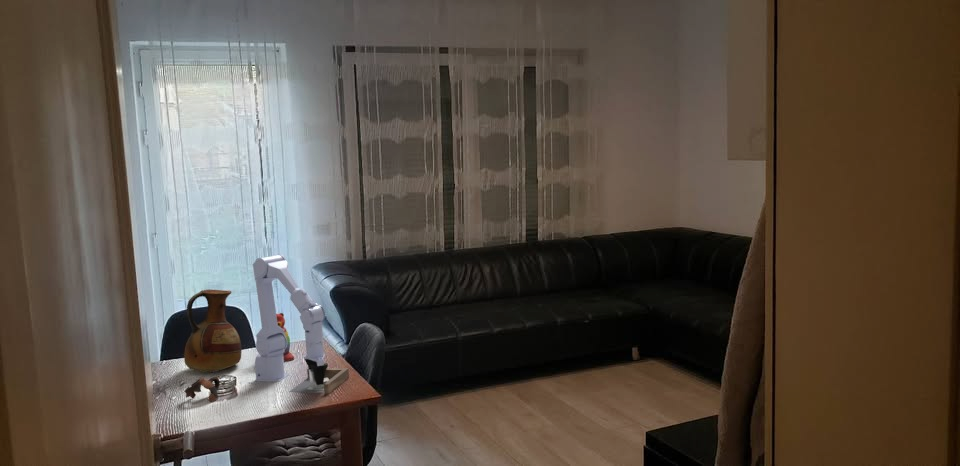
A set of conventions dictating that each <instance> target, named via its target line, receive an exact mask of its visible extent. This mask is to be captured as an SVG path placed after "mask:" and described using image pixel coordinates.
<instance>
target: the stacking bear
mask: <svg viewBox="0 0 960 466" xmlns="http://www.w3.org/2000/svg"><path fill="white" fill-rule="evenodd" d="M276 316H277V323H278V326H279V327H281V328H282V329H284V333H285V336H286V338H287V342H288V344H287V347H286V349H285V352H283V358H284V362H290V361H293V360H294V359H295V356H294V354H293V353H292V352H290V349H291V348H290V347H291V338H290V335H289V332H288V330H287V328H286V327H285V325H286V320H285V317H284V316H285V315H284V313H283V312H279V313H276ZM270 336H271V335H270Z"/></svg>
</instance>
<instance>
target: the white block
mask: <svg viewBox="0 0 960 466" xmlns="http://www.w3.org/2000/svg"><path fill="white" fill-rule="evenodd" d="M309 375H310V387H311V388H312V389H313V390H314V389H319V388H324V384H325V383H326V382H328V381H329V379H328V378H324V382H323V384H321V385H317V384H316V381H315V377H314V373H313V371H312V369H309Z"/></svg>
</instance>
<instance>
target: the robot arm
mask: <svg viewBox="0 0 960 466" xmlns="http://www.w3.org/2000/svg"><path fill="white" fill-rule="evenodd" d="M252 267H253V276H254V281H255V287H256V288H255V289H256V294H257V299H258V301H257V302H258V309H259V316H260V321H261V329H260V330H259V331H258V332H257V333H256V335H255V336H256V343H255V350H256V352H257V353H258V354H256V356H255V359H254V369H255V380H254V381H255V382H277V383H278V382H279V383H280V382H281V381H283V380H285V378H288V376H290V373H285V372H286V371H285V361H284V358H283V352H285V349H286V347H287V344H288V342H287V338H286V336H285V333H284V329H282V328H281V327H279V326H278V323H277V316H276V314H277V310H276V309H277V308H276V304H275V303H276V302H275V296H274V288H273V281H274V280H275V279H277V280H278V281H279V282H280V284H281V285H283V287H284V288H285V289H286V290H287V291H288V293H289V294H290V299H289V300H290V301H291V302H292V304H293V305H294V306H295V307H296V309H297V311H298V312H299V314H300V315H299V319H300V322H301V323H302V328H303V330H304V335H305V348H306V350H305V351H306V354H305V355H303V356H302V358H303V360H304V361H305V362H306V365H307V367H308V368H309V369H312V371H313V373H314V377H315V381H316V384H317V385H321V384H323V382H324V376H325V371H326V369H327V368H328V366H329V364H328V362H324V359H325V357H326V354H325V348H324V347H325V346H324V333H323V331H324V330H323V321H325V319H326V312H325V309H324V306H322V305H321V304H318V303H317V302H314V300H313V299H312V297H311V296H310V294H309V293H308V292H307V290H306V289H304V288H300V286H299V285H298V283H297V282H296V280H295V278H294V277H293V275H292V273H291V272H290V270H289V262H288V261H287V260H286V257H285V256H284V255H283V254H281V253H280V254H279V253H277V254H274V255H269V256H266V257H265V256H264V257H258V258H256V259H255V260H254V262H253V263H252ZM270 335H271V336H270ZM308 368H307V369H308Z"/></svg>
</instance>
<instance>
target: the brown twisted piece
mask: <svg viewBox="0 0 960 466" xmlns="http://www.w3.org/2000/svg"><path fill="white" fill-rule="evenodd" d="M213 383H214V384H213ZM220 384H221V382H220V379H219V378H218V377H215V376H214V377H211V378H210V379H205V377H201V378H199V379H197V380H196V381H195V382H194V383H192V384H191V386H188V387H186V388H185V389H184V391H183V392H184V393H185V398H189V397H190V398H192V399H195V398H196V395H197V393H200V392H201V393H202V390H201V387H203V388H204V389H206V390H209V391H210V395H209V396H208V397H207V399H208V400H209V402H210V403H211V404H212V403H213V402H215V401H216V400H217V399H218V398H219V395H218V389H219V388H220V386H221V385H220Z"/></svg>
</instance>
